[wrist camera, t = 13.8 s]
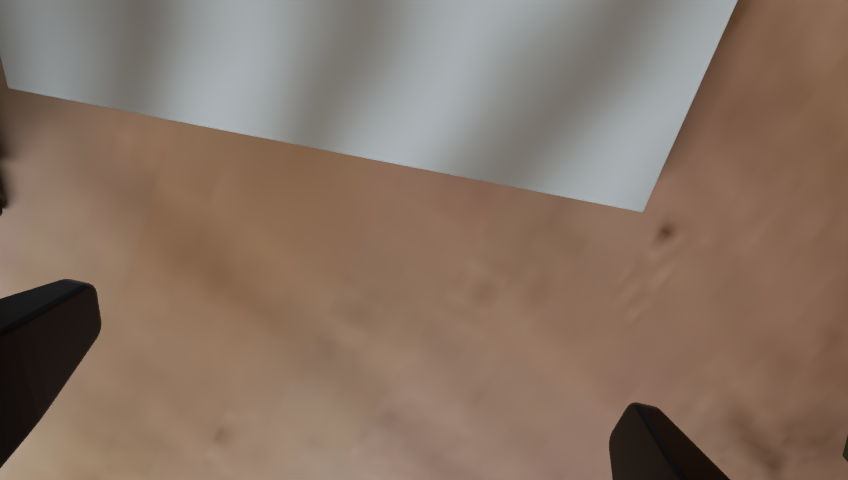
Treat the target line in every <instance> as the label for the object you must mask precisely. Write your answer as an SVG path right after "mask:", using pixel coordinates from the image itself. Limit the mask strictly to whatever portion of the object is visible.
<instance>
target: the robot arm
mask: <svg viewBox="0 0 848 480" xmlns="http://www.w3.org/2000/svg"><path fill="white" fill-rule="evenodd" d="M1 214H2V206H1V203H0V216H1ZM100 329H101V317H100V310H99V304H98V298H97V292H96V289H95V288H94V286H93V285H91V284H89V283H85V282H80V281H76V280H71V279H63V280H59V281H56V282H53V283H50V284H46V285H43V286H40V287H37V288H34V289H30V290H27V291H24V292H21V293H18V294H14V295H11V296H8V297H5V298H1V299H0V468H1V467H2V466H3V464H4V463H5V462H6V461H7V460H8V458H9V457H10V456H11V455H12V454H13V452H14V451H15V450H16V449H17V448H18V447H19V445H20V444H21V443H22V442H23V441H24V439H25V438H26V437H27V436H28V435H29V433H30V432H31V431H32V430H33V428H34V427H35V426H36V425H37V423H38V422H39V421H40V419H41V418H42V417H43V415H44V414H45V413H46V411H47V410H48V409H49V407H50V406H51V404H52V403H53V401H54V400H55V399H56V397H57V396H58V394H59V393H60V391H61V390H62V388H63V387H64V385H65V384H66V382H67V381H68V380H69V378H70V377H71V375H72V374H73V372H74V371H75V369H76V368H77V366H78V365H79V364H80V362H81V361H82V359H83V358H84V356H85V355H86V353H87V352H88V350H89V349H90V347H91V346H92V345H93V343H94V342H95V340H96V339H97V337H98V335H99V333H100ZM609 451H610V460H611V469H612V478H613V480H730V479H729V478H728V477H727V476H726V475H725V474H724V473H723V472H722V471H721V470H720V469H719V468H718V467H717V466H716V465H715V464H714V463H713V462H712V461H711V460H710V459H709V458H708V457H707V456H706V455H705V454H704V453H703V452H702V451H701V450H700V449H699V448H698V447H697V446H696V445H695V444H694V443H693V442H692V441H691V440H690V439H689V438H688V437H687V436H686V435H685V434H684V433H683V432H682V431H681V430H680V429H679V428H678V427H677V426H676V425H675V424H674V423H673V422H672V421H671V420H670V419H669V418H668V417H667V416H666V415H665V414H664V413H663V412H662V411H661V410H660V409H658V408H657V407H654V406H651V405H646V404H641V403H631V404H630V405H628V407H627V408H626V410H625V411H624V413H623V415H622V416H621V418H620V420H619V421H618V423H617V425H616V426H615V428H614V429H613V431H612V433H611V436H610V440H609Z"/></svg>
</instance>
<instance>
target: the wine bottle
mask: <svg viewBox="0 0 848 480" xmlns="http://www.w3.org/2000/svg"><path fill="white" fill-rule="evenodd" d="M843 457H844V458H845V459H846V460H847V462H848V437H847V441H846V445H845V449H844V453H843Z"/></svg>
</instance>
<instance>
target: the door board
mask: <svg viewBox="0 0 848 480" xmlns="http://www.w3.org/2000/svg"><path fill="white" fill-rule="evenodd" d="M736 3H737V0H0V57H1V61H2V65H3V69H4V73H5V77H6V81H7V85H8V88H10V89H15V90H21V91H26V92H31V93H36V94H41V95H46V96H51V97H56V98H61V99H67V100H72V101H77V102H82V103H87V104H92V105H97V106H102V107H107V108H113V109H118V110H123V111H128V112H133V113H138V114H143V115H148V116H154V117H159V118H164V119H169V120H174V121H179V122H184V123H189V124H194V125H200V126H205V127H210V128H215V129H220V130H225V131H230V132H235V133H241V134H246V135H251V136H256V137H261V138H266V139H271V140H276V141H281V142H287V143H292V144H297V145H302V146H307V147H312V148H317V149H322V150H327V151H333V152H338V153H343V154H348V155H353V156H358V157H363V158H368V159H374V160H379V161H384V162H389V163H394V164H399V165H404V166H409V167H414V168H420V169H425V170H430V171H435V172H440V173H445V174H450V175H455V176H461V177H466V178H471V179H476V180H481V181H486V182H491V183H496V184H501V185H507V186H512V187H517V188H522V189H527V190H532V191H537V192H542V193H547V194H553V195H558V196H563V197H568V198H573V199H578V200H583V201H588V202H594V203H599V204H604V205H609V206H614V207H619V208H624V209H629V210H634V211H640V212H643V210H644V208H645V206H646V204H647V201H648V199H649V197H650V195H651V192H652V190H653V188H654V186H655V184H656V181H657V179H658V177H659V175H660V172H661V170H662V168H663V166H664V163H665V161H666V159H667V157H668V154H669V152H670V150H671V148H672V146H673V143H674V141H675V139H676V137H677V134H678V132H679V130H680V128H681V125H682V123H683V121H684V119H685V117H686V114H687V112H688V110H689V108H690V105H691V103H692V101H693V99H694V96H695V94H696V92H697V90H698V88H699V85H700V83H701V81H702V79H703V76H704V74H705V72H706V70H707V67H708V65H709V63H710V61H711V59H712V56H713V54H714V52H715V50H716V47H717V45H718V43H719V41H720V38H721V36H722V34H723V32H724V30H725V27H726V25H727V23H728V21H729V18H730V16H731V14H732V12H733V9H734V7H735V5H736Z"/></svg>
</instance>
